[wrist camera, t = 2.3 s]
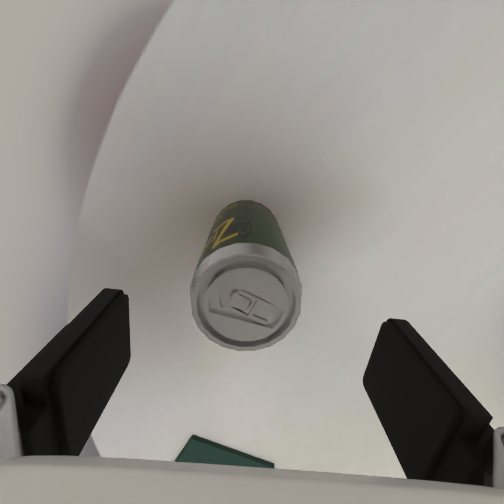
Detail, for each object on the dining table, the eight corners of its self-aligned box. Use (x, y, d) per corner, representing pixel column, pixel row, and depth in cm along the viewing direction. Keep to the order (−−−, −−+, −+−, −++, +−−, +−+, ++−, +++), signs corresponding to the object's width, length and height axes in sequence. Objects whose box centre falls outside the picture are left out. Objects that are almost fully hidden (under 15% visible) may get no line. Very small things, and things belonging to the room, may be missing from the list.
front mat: (155, 488, 36) (154, 493, 35) (192, 434, 32) (191, 439, 32) (232, 511, 38) (232, 516, 37) (274, 463, 35) (274, 468, 34)
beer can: (289, 216, 23) (329, 282, 12) (259, 269, 25) (270, 369, 14) (230, 186, 22) (216, 228, 11) (203, 243, 24) (167, 329, 13)
